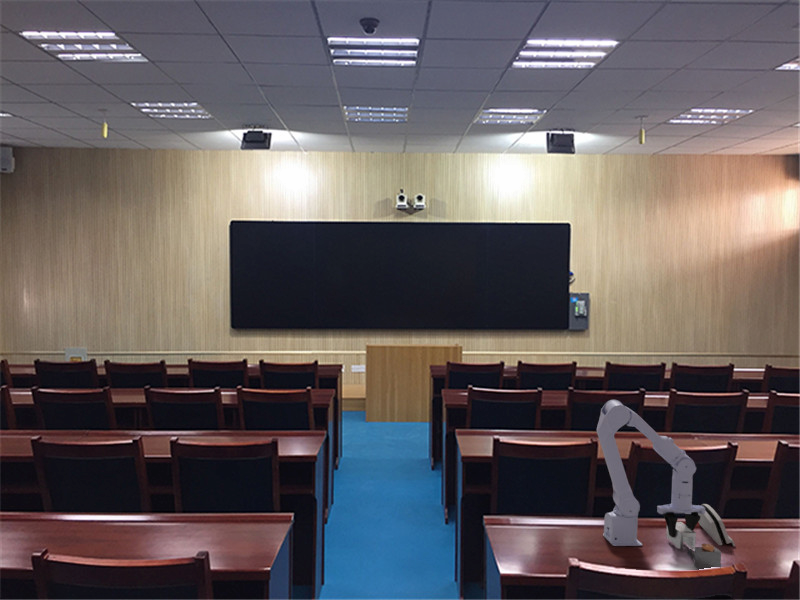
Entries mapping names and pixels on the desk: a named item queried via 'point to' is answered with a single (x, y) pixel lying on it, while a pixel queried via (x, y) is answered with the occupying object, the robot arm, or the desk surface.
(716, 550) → the coupler
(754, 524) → the desk surface
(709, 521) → the grey black curved block
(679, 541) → the lock
